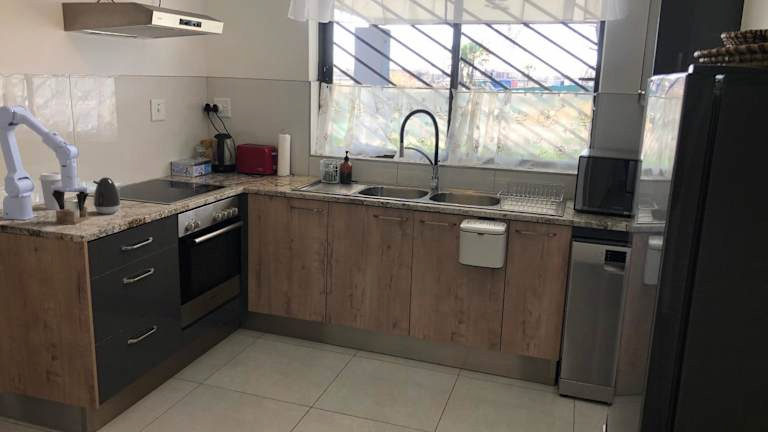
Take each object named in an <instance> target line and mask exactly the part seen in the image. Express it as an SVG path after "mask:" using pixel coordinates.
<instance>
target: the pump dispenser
mask: <svg viewBox="0 0 768 432" xmlns="http://www.w3.org/2000/svg"><path fill="white" fill-rule="evenodd" d="M92 183H94V184H96V187H95V190H94V194H93V195H94V196H93V206H94V207H95V210H96V212H98V213H99V214H101V215H111V214H115V213H116V212H117V211H119V208H120V206H121V199H120V194H119V191H118V188H117V186H116V184H115V183H114V181H113V180H112V178H109V177H106V176H105V177H101V178H100V179H99V180H98V181H97V180H93V182H92Z"/></svg>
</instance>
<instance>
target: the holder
mask: <svg viewBox="0 0 768 432" xmlns="http://www.w3.org/2000/svg"><path fill="white" fill-rule="evenodd" d="M79 214H80V218H79V219H76V218H75V211H69V209H65V208H64V209H62V210H60V209H57V210H55V216H56V217H55V218H56V220H54V224H55V225H57V224H58V225H73V226H75V225H78V224H79V223H82V222H84V221H86V220H87V221H88V220H90V215H88V207H87V206H86V205H84V209H83V210H82V211H79Z"/></svg>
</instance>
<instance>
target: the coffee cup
mask: <svg viewBox="0 0 768 432" xmlns="http://www.w3.org/2000/svg"><path fill="white" fill-rule="evenodd" d="M38 179H39V181H40V184H41V185H40V186H41V191H42V196H43V202H44V207H45V209H46V210H47V211H48V210H50V211H52V210H53V211H57V210H60V209H59V206H58V203H57V201H56V200H55V198H54V197H53V195H52V193H53V192H51V188H50V187H51V186H62V184H61V172H56V171H55V172H54V171H53V172H43V173H41V174H40V175H39V178H38Z"/></svg>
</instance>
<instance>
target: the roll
mask: <svg viewBox="0 0 768 432" xmlns="http://www.w3.org/2000/svg"><path fill="white" fill-rule="evenodd" d="M64 206H65V207H64V209H69V211H75V218H76V219H79V218H80V214H79V207H78V199H67V200H64Z"/></svg>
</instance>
